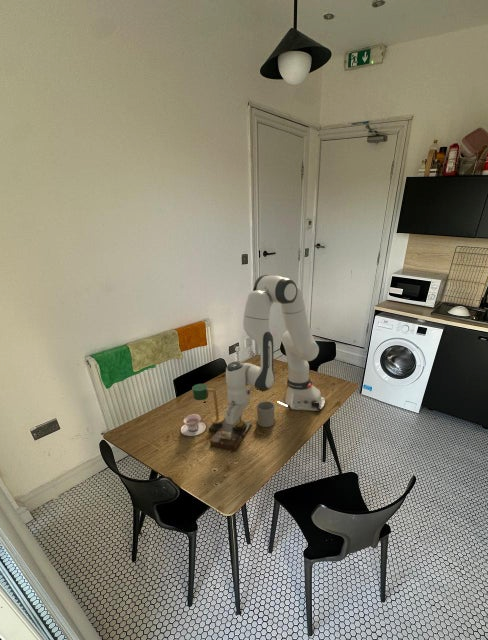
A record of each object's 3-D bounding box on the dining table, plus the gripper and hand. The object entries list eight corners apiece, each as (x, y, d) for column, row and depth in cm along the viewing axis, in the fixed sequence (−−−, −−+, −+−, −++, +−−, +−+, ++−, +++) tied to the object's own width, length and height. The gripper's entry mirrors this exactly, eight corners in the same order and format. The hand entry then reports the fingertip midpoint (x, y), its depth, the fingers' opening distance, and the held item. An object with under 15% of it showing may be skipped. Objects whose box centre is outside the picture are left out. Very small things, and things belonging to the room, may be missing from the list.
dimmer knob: (231, 437, 146) (231, 432, 145) (230, 439, 145) (229, 434, 143) (221, 435, 148) (221, 430, 146) (220, 437, 146) (219, 432, 145)
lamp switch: (244, 423, 156) (244, 420, 155) (241, 427, 153) (241, 424, 152) (237, 422, 157) (237, 419, 156) (234, 426, 154) (234, 423, 153)
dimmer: (242, 439, 150) (242, 434, 149) (234, 451, 143) (233, 446, 141) (219, 434, 153) (218, 429, 152) (210, 446, 146) (209, 441, 144)
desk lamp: (226, 417, 160) (223, 387, 151) (220, 425, 154) (216, 394, 145) (201, 412, 163) (196, 382, 154) (194, 420, 157) (189, 389, 148)
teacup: (197, 439, 150) (195, 428, 147) (175, 433, 154) (173, 422, 151) (210, 425, 160) (209, 414, 157) (190, 420, 163) (188, 409, 160)
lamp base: (251, 425, 160) (251, 420, 158) (243, 437, 151) (243, 431, 150) (218, 419, 164) (217, 414, 162) (209, 431, 156) (208, 425, 154)
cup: (276, 419, 165) (276, 403, 159) (270, 428, 158) (270, 411, 153) (261, 416, 167) (260, 400, 162) (255, 425, 160) (254, 408, 155)
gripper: (234, 409, 137) (236, 435, 144) (251, 387, 154) (252, 411, 161) (220, 407, 139) (223, 432, 146) (239, 385, 156) (241, 409, 163)
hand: (238, 421), depth 154 cm, fingers closed
